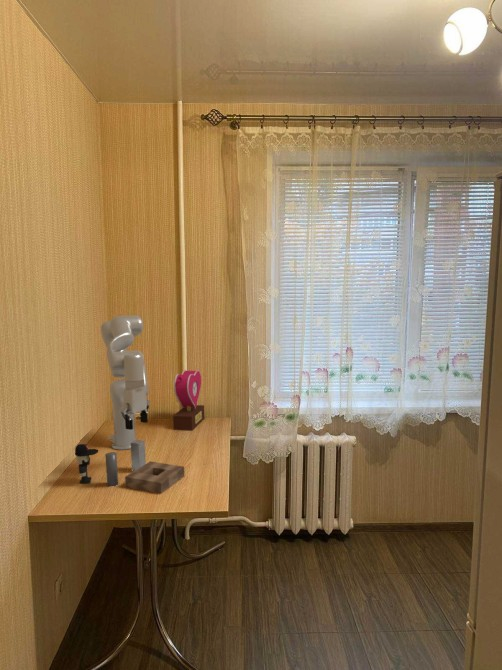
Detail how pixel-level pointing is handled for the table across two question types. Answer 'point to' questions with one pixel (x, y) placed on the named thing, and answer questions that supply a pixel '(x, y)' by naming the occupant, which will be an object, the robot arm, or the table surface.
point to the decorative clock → (188, 401)
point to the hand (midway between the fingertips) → (136, 425)
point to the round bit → (111, 469)
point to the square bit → (138, 454)
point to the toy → (84, 461)
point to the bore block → (154, 477)
